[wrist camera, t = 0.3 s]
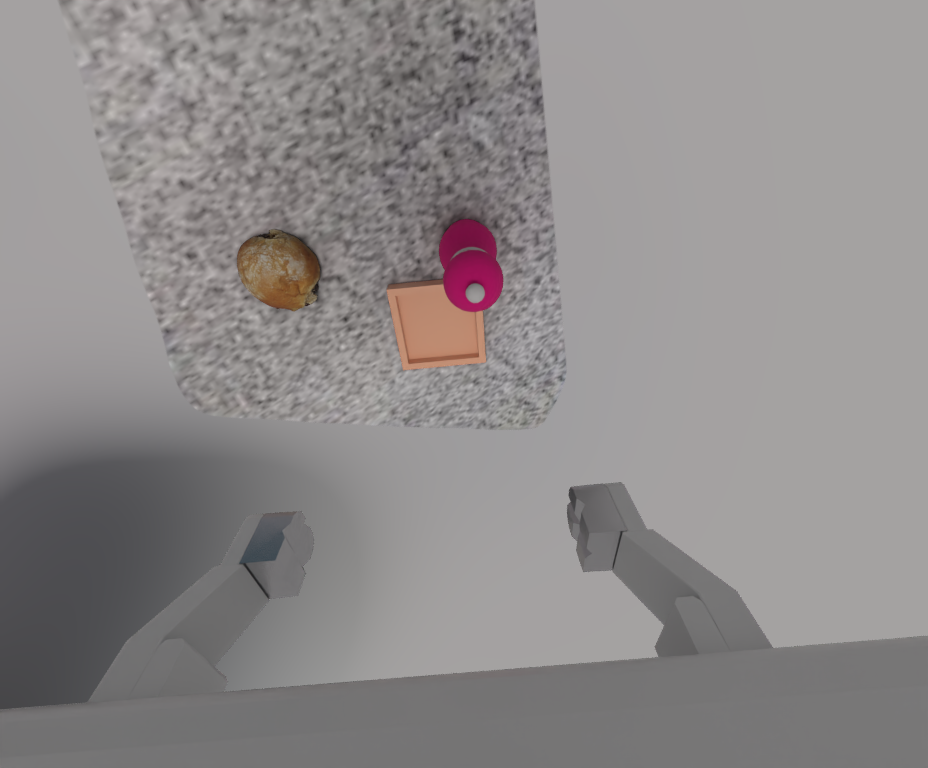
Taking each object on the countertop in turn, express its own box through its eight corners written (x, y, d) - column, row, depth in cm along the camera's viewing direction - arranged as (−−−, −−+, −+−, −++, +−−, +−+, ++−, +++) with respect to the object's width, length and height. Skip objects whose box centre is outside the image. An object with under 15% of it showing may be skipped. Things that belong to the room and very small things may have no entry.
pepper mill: (492, 212, 48) (515, 252, 32) (494, 268, 52) (515, 329, 36) (436, 217, 48) (431, 259, 32) (442, 272, 52) (440, 336, 36)
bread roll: (316, 229, 52) (284, 212, 44) (338, 301, 53) (311, 297, 46) (252, 249, 53) (210, 236, 45) (275, 319, 55) (238, 318, 47)
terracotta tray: (388, 284, 53) (386, 289, 51) (479, 275, 53) (480, 280, 51) (404, 363, 60) (403, 370, 58) (484, 355, 60) (485, 362, 58)
